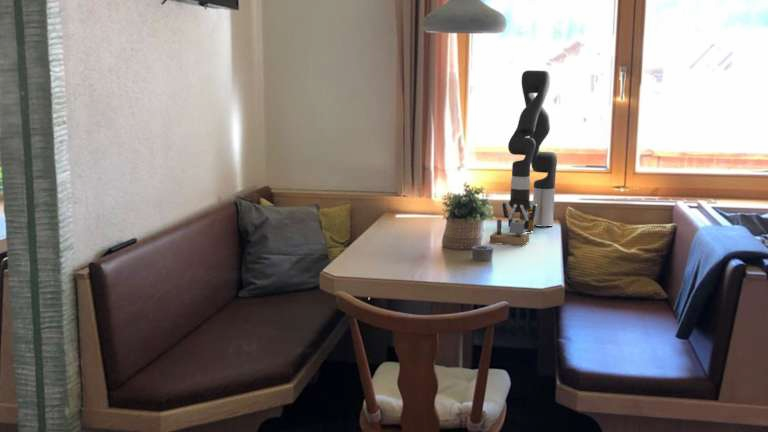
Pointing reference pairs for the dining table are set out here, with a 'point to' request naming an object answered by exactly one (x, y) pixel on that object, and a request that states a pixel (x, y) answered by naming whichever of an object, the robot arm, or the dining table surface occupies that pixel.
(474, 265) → the dining table surface
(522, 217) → the condiment
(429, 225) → the dining table surface
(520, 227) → the link
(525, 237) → the keeper
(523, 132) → the robot arm
